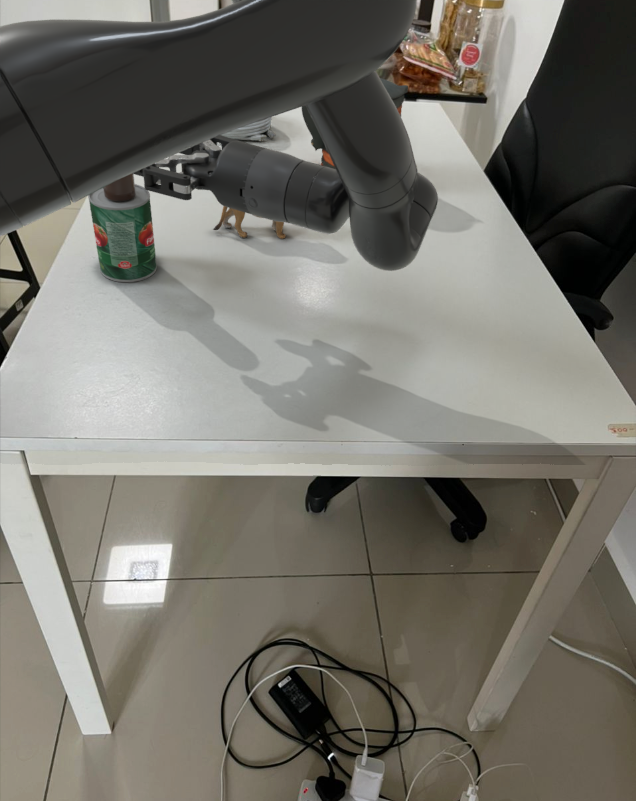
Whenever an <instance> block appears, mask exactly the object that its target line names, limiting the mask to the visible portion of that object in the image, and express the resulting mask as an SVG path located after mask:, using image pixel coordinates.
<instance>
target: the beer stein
mask: <svg viewBox="0 0 636 801" xmlns="http://www.w3.org/2000/svg"><path fill="white" fill-rule="evenodd" d="M379 78H380V80H381V81H382V83H383V85H384V87H385V88H386V90H387V92H388V94H389V95H390V97H391V99H392V101H393V103H394V104H395V106H396V108H397V110H398V112H399V114H400V116H401V117H402V108H403V103H404V101H405V94H407V93H408V90H409V85H407V84H403V85H398V84H396V83H395V82H392V81H391V80H390V81H389V80H387V79H384V78H382V77H379ZM301 116H302V118H303V121H304V123H305V125H306V126H305V127H306V128H307V130H308V131H309V133H310V136H311V137H312V139H311V140H310V144H311V146H312V147H313V148H314V150H315V151H318V150H321V153H322V156H321V157H320V165H323V166H326V167H330V168H334V169H335V166H334V164H333V162H332V160H331V157H330V155H329V153H328V151H327V149H326V147H325V144H324V142H323V140H322V138H321V136H320V134H319V132H318V130H317V128H316V125H315V123H314V121H313V119H312V117H311V115H310V113H309V111H308V110H307V108H306V106H302V107H301Z"/></svg>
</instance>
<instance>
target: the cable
mask: <svg viewBox="0 0 636 801" xmlns="http://www.w3.org/2000/svg"><path fill="white" fill-rule="evenodd" d="M272 119H273V118H272V117H270V118H267V119H264V120H261V121H258V122H255V123H252V124H249V125H246V126H243V127H241V128H238V129H235V130H232V131H230V132H227V133H224V134H222V136H225V137H228V138H232V139H235V140H238V141H258V142H262V140H264V139H267V138H268V137H269V139H273V138H275V136H276V134H275V133H274V131H272V130H270V129H271V124H272ZM264 133H265V134H264Z"/></svg>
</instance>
